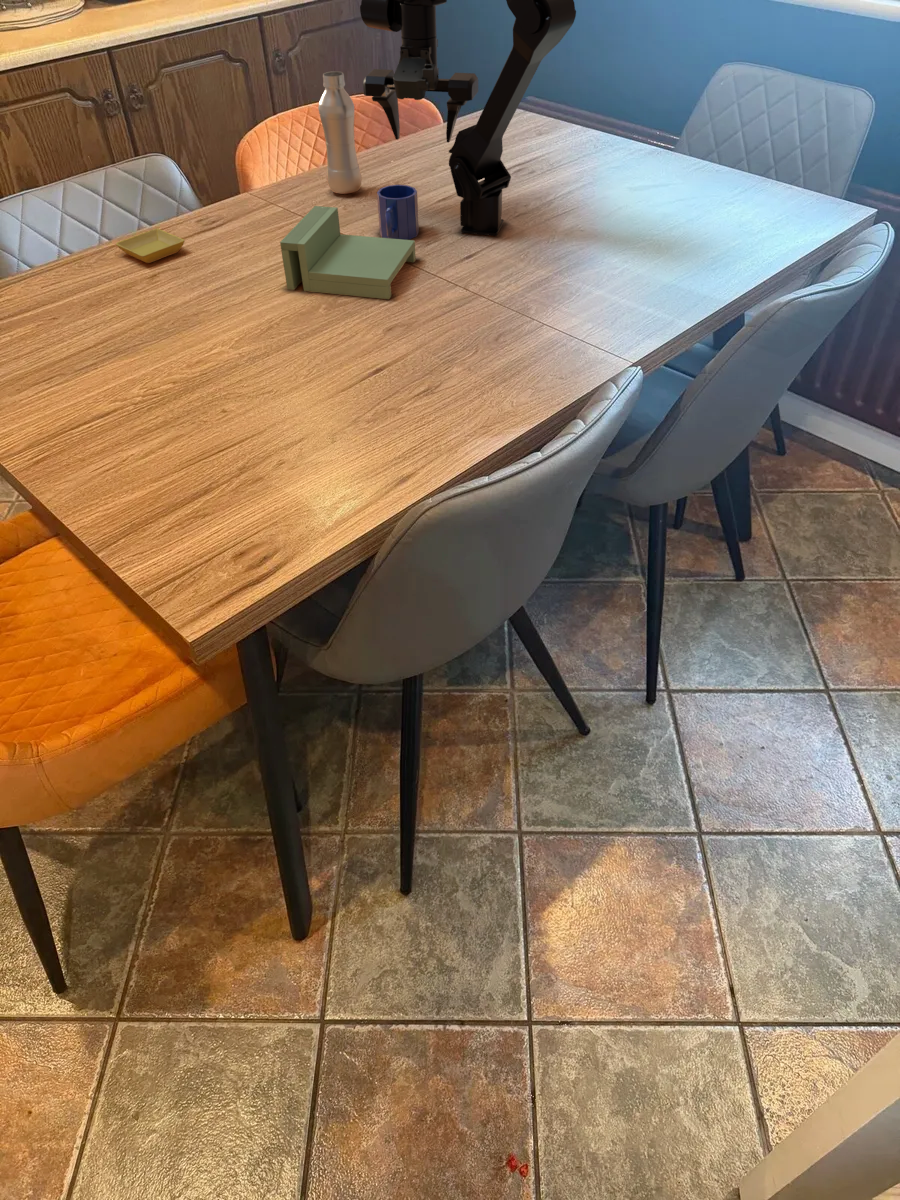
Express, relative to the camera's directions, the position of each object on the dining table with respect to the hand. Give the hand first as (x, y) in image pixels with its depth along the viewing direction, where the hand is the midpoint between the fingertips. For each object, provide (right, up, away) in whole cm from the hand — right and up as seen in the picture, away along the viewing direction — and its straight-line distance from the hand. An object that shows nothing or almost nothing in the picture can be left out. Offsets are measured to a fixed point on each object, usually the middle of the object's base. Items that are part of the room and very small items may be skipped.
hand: (422, 140), depth 150 cm
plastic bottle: (-16, -1, +16) cm, 23 cm away
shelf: (-11, -27, -10) cm, 31 cm away
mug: (-5, -16, +1) cm, 17 cm away
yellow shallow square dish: (-46, -21, -3) cm, 51 cm away
